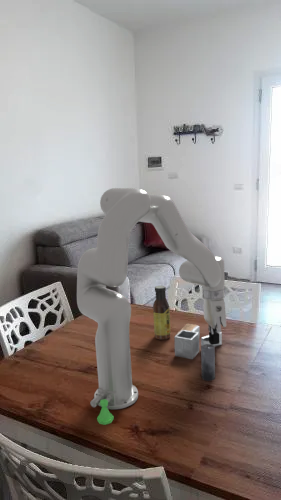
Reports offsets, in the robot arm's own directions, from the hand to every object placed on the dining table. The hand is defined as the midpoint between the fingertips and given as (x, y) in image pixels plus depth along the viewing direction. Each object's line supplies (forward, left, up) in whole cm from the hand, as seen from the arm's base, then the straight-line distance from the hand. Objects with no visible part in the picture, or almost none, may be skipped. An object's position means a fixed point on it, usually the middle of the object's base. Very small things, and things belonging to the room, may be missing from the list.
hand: (214, 343), depth 140 cm
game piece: (-49, +13, -3) cm, 50 cm away
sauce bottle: (+3, +22, -3) cm, 22 cm away
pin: (-18, -4, -3) cm, 18 cm away
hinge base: (0, +9, -3) cm, 10 cm away
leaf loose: (+2, +2, -3) cm, 4 cm away
